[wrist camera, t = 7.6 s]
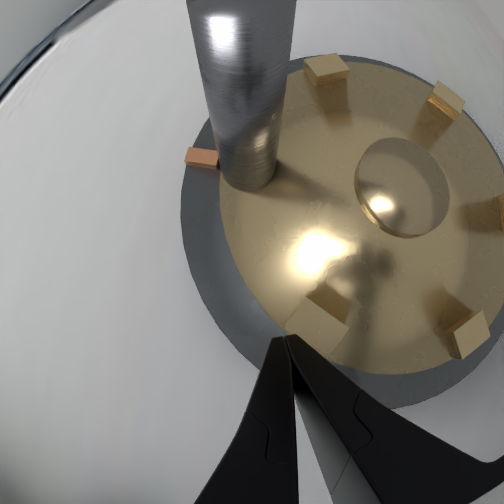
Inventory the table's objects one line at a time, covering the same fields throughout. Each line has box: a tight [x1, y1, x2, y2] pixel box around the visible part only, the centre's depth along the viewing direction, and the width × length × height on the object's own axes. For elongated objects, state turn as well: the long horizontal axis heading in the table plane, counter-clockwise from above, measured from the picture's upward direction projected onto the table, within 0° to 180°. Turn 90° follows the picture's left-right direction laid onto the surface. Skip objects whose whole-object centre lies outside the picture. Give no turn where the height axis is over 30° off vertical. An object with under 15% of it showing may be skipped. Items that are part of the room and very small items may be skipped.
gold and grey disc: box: [180, 55, 504, 409], centre depth 19 cm, size 26×26×2 cm
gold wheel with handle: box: [186, 0, 504, 375], centre depth 12 cm, size 21×21×12 cm
